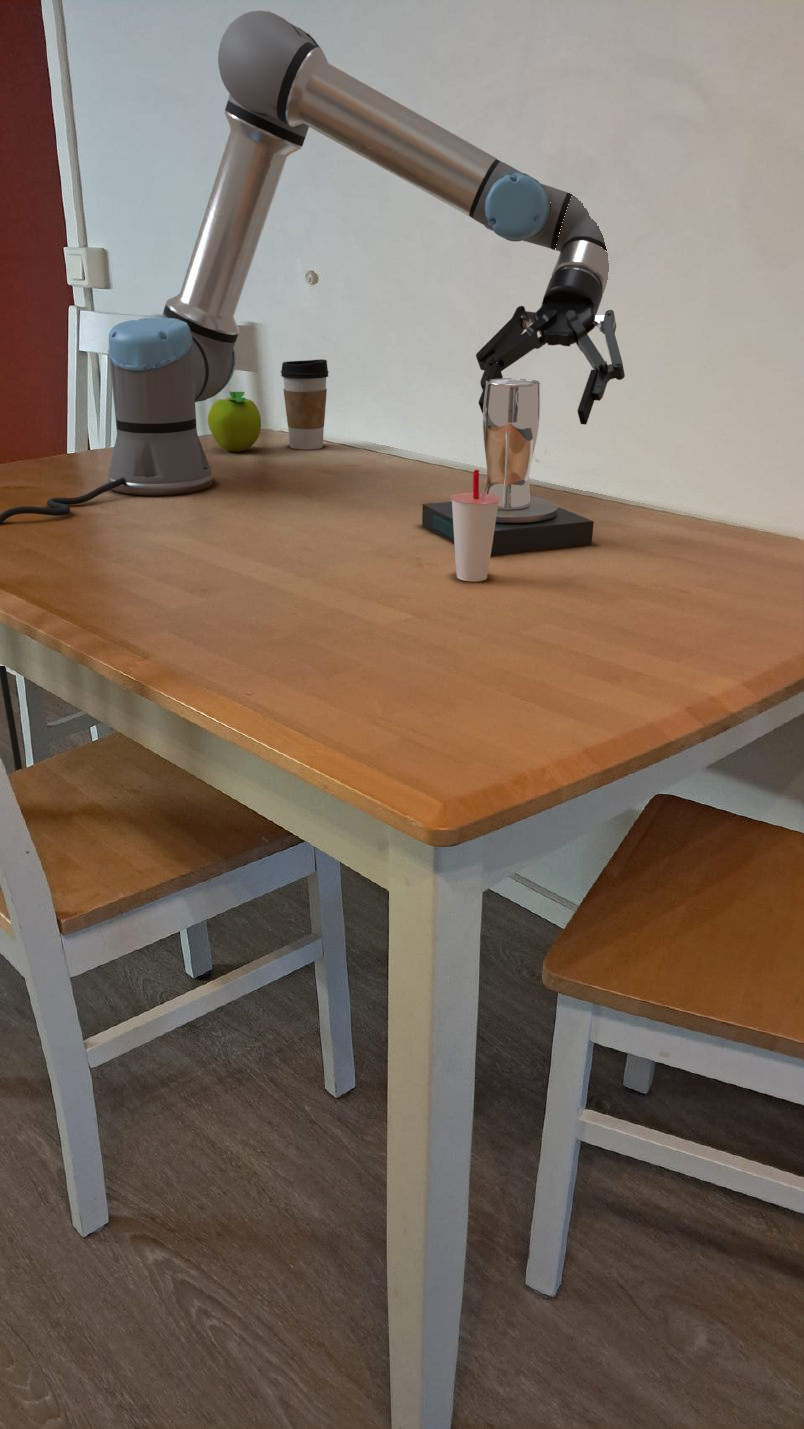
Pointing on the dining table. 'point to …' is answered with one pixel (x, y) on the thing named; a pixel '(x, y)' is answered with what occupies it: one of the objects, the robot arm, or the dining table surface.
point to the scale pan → (529, 512)
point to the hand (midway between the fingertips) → (531, 413)
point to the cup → (473, 531)
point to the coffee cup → (305, 402)
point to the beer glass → (510, 438)
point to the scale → (517, 530)
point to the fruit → (235, 422)
